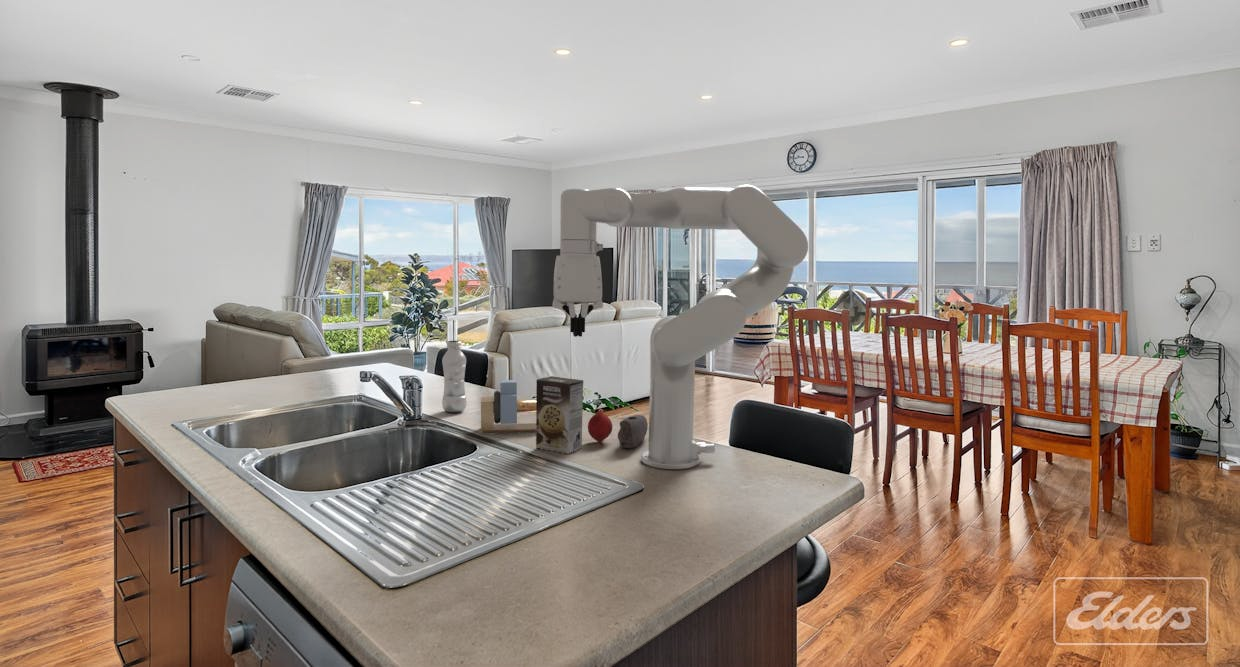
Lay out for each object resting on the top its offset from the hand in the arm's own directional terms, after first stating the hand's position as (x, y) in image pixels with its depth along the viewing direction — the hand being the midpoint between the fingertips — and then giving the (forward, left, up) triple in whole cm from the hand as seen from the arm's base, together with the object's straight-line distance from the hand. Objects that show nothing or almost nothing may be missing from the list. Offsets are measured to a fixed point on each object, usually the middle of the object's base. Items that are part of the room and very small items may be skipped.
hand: (577, 335), depth 144 cm
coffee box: (+3, -9, -27) cm, 29 cm away
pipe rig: (+13, -27, -27) cm, 40 cm away
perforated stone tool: (-15, -11, -27) cm, 33 cm away
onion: (-7, -13, -27) cm, 31 cm away
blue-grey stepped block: (+14, -27, -25) cm, 39 cm away
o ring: (+17, -27, -25) cm, 41 cm away
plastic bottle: (+29, -49, -27) cm, 63 cm away
